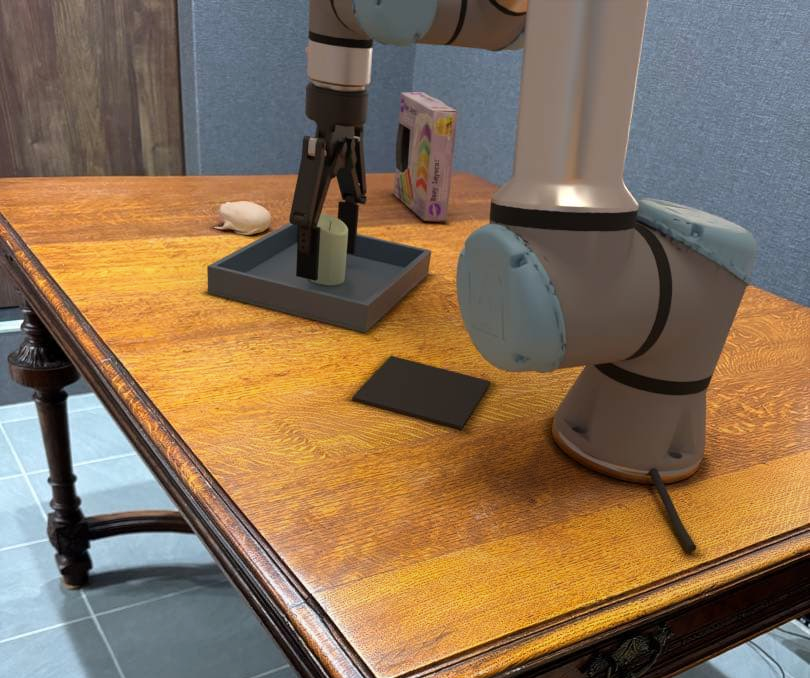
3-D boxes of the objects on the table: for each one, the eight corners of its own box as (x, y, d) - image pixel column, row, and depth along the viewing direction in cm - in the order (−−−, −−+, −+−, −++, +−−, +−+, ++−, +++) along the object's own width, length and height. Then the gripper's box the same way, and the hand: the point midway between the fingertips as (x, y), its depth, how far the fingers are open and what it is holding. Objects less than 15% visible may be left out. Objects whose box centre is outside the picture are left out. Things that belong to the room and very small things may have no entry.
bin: (365, 333, 99) (367, 305, 97) (207, 293, 103) (206, 265, 101) (428, 274, 119) (431, 250, 117) (294, 243, 123) (295, 219, 121)
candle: (351, 280, 111) (356, 219, 106) (330, 289, 108) (334, 225, 103) (322, 270, 113) (326, 209, 108) (300, 278, 110) (302, 216, 105)
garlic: (209, 228, 124) (209, 202, 121) (230, 218, 129) (230, 193, 127) (257, 239, 122) (257, 213, 120) (276, 228, 127) (277, 203, 125)
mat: (461, 429, 82) (462, 426, 82) (351, 400, 84) (352, 396, 84) (490, 384, 91) (490, 381, 91) (390, 358, 94) (391, 355, 93)
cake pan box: (388, 192, 153) (399, 87, 143) (413, 193, 155) (426, 89, 144) (420, 223, 139) (434, 109, 129) (447, 224, 141) (463, 111, 130)
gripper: (347, 70, 107) (336, 235, 120) (262, 89, 88) (259, 284, 100) (401, 80, 105) (384, 246, 118) (325, 102, 86) (315, 297, 99)
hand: (327, 264), depth 109 cm, fingers open, 12 cm apart
